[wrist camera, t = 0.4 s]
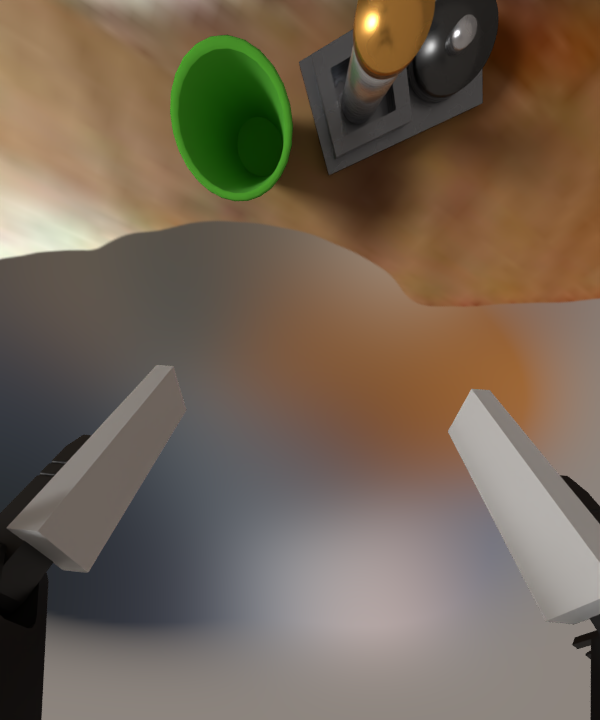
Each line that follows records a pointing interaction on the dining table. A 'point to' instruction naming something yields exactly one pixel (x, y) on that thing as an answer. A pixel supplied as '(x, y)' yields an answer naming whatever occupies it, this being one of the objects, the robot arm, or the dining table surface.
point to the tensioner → (404, 84)
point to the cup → (231, 118)
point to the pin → (382, 50)
